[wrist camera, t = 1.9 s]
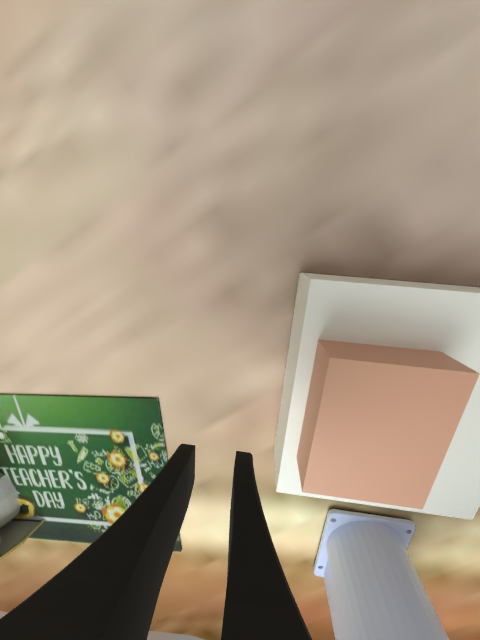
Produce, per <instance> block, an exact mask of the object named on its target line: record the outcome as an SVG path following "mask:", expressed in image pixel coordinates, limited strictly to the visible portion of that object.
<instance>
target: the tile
mask: <svg viewBox="0 0 480 640" xmlns="http://www.w3.org/2000/svg"><path fill="white" fill-rule="evenodd" d="M479 374H480V373H478V372H476V371H474V370H473V369H471V368H469V367H467V366H466V365H464V364H462V363H460V362H459V361H457V360H455V359H453V358H452V357H450V356H448V355H446V354H444V353H443V352H439V351H429V350H419V349H409V348H399V347H389V346H379V345H370V344H360V343H350V342H340V341H330V340H320V339H318V343H317V348H316V354H315V359H314V365H313V370H312V376H311V381H310V386H309V392H308V397H307V403H306V408H305V413H304V419H303V424H302V430H301V435H300V440H299V446H298V451H297V457H296V458H297V464H298V470H299V476H300V482H301V488H302V492H304V493H311V494H318V495H325V496H332V497H339V498H346V499H353V500H360V501H367V502H374V503H381V504H388V505H395V506H402V507H409V508H416V509H423V507H424V505H425V503H426V500H427V498H428V496H429V493H430V491H431V488H432V486H433V484H434V481H435V479H436V477H437V474H438V472H439V469H440V467H441V465H442V462H443V460H444V458H445V455H446V453H447V450H448V448H449V446H450V443H451V441H452V439H453V436H454V434H455V431H456V429H457V427H458V424H459V422H460V420H461V417H462V415H463V412H464V410H465V408H466V405H467V403H468V401H469V398H470V396H471V393H472V391H473V389H474V386H475V384H476V382H477V379H478V377H479Z"/></svg>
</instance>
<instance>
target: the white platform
mask: <svg viewBox="0 0 480 640" xmlns="http://www.w3.org/2000/svg"><path fill="white" fill-rule="evenodd" d="M318 339H320V340H330V341H340V342H350V343H360V344H370V345H379V346H389V347H399V348H409V349H419V350H429V351H439V352H443V353H444V354H446V355H448V356H450V357H452V358H453V359H455V360H457V361H459V362H460V363H462V364H464V365H466V366H467V367H469V368H471V369H473V370H474V371H476V372H478V373H480V287H470V286H458V285H446V284H434V283H422V282H410V281H398V280H386V279H374V278H361V277H349V276H337V275H325V274H313V273H301V272H300V274H299V280H298V287H297V294H296V301H295V308H294V314H293V321H292V328H291V335H290V342H289V349H288V355H287V362H286V369H285V376H284V383H283V389H282V396H281V403H280V410H279V417H278V424H277V430H276V437H275V444H274V461H275V478H276V492H281V493H288V494H295V495H302V496H309V497H316V498H323V499H330V500H337V501H343V502H350V503H357V504H364V505H371V506H378V507H385V508H392V509H399V510H406V511H413V512H420V513H427V514H434V515H441V516H448V517H454V518H461V519H468V520H473V518H474V516H475V514H476V512H477V510H478V508H479V506H480V374H479V377H478V379H477V382H476V384H475V386H474V389H473V391H472V393H471V396H470V398H469V401H468V403H467V405H466V408H465V410H464V412H463V415H462V417H461V420H460V422H459V424H458V427H457V429H456V431H455V434H454V436H453V439H452V441H451V443H450V446H449V448H448V450H447V453H446V455H445V458H444V460H443V462H442V465H441V467H440V469H439V472H438V474H437V477H436V479H435V481H434V484H433V486H432V488H431V491H430V493H429V496H428V498H427V500H426V503H425V505H424V507H423V509H416V508H409V507H402V506H395V505H388V504H381V503H374V502H367V501H360V500H353V499H346V498H339V497H332V496H325V495H318V494H311V493H304V492H302V488H301V482H300V476H299V470H298V464H297V458H296V457H297V451H298V446H299V440H300V435H301V430H302V424H303V419H304V413H305V408H306V403H307V397H308V392H309V386H310V381H311V376H312V370H313V365H314V359H315V354H316V348H317V343H318Z"/></svg>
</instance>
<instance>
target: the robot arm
mask: <svg viewBox="0 0 480 640" xmlns="http://www.w3.org/2000/svg"><path fill="white" fill-rule="evenodd" d="M194 478H195V445H187V444H181V445H180V446H179V447H178V448H177V450H176V451H175V453H174V454H173V455H172V457H171V458H170V459H169V461H168V462H167V463H166V465H165V466H164V467H163V468H162V470H161V471H160V472H159V473H158V475H157V476H156V477H155V478H154V479H153V481H152V482H151V483H150V484H149V485H148V487H147V488H146V489H145V490H144V491H143V492H142V493H141V494H140V496H139V497H138V498H137V499H136V500H135V501H134V502H133V503H132V504H131V505H130V506H129V508H128V509H127V510H126V511H125V512H124V513H123V514H122V515H121V516H120V517H119V518H118V519H117V520H116V521H115V522H114V523H113V524H112V525H111V526H110V527H109V528H108V529H107V530H106V531H105V532H104V533H103V534H102V535H101V536H100V537H99V538H98V539H96V540H95V541H94V542H93V543H92V544H91V545H90V546H89V547H88V548H87V549H85V550H84V551H83V552H82V553H81V554H80V555H79V556H78V557H77V558H75V559H74V560H73V561H72V562H71V563H70V564H69V565H67V566H66V567H65V568H64V569H63V570H62V571H60V572H59V573H58V574H57V575H55V576H54V577H53V578H52V579H51V580H49V581H48V582H47V583H46V584H44V585H43V586H42V587H41V588H40V589H38V590H37V591H36V592H35V593H33V594H32V595H31V596H30V597H29V598H27V599H26V600H25V601H23V602H22V603H21V604H20V605H18V606H17V607H16V608H14V609H13V610H12V611H10V612H9V613H8V614H6V615H5V616H4V617H2V618H1V619H0V640H147V636H148V632H149V628H150V625H151V621H152V617H153V614H154V610H155V606H156V603H157V599H158V595H159V592H160V588H161V585H162V582H163V579H164V576H165V573H166V570H167V567H168V564H169V561H170V558H171V555H172V552H173V549H174V546H175V543H176V541H177V538H178V535H179V532H180V529H181V526H182V523H183V520H184V517H185V514H186V511H187V508H188V504H189V500H190V496H191V492H192V488H193V484H194ZM415 529H416V526H415V524H414V523H413V521H411V520H406V519H399V518H392V517H385V516H378V515H372V514H365V513H358V512H351V511H344V510H337V509H330V510H329V511H328V514H327V518H326V522H325V526H324V529H323V533H322V537H321V541H320V545H319V549H318V553H317V557H316V561H315V564H314V574H315V575H317V576H321V577H324V581H325V586H326V592H327V597H328V602H329V608H330V613H331V618H332V623H333V629H334V634H335V639H336V640H449V638H448V636H447V634H446V632H445V630H444V628H443V626H442V624H441V622H440V620H439V618H438V615H437V613H436V611H435V609H434V607H433V605H432V603H431V601H430V599H429V597H428V595H427V593H426V590H425V588H424V586H423V584H422V582H421V580H420V578H419V576H418V574H417V572H416V570H415V568H414V566H413V563H412V561H411V559H410V557H409V555H408V553H407V551H406V550H407V547H408V545H409V543H410V540H411V538H412V536H413V533H414V531H415ZM221 640H312V638H311V636H310V634H309V632H308V629H307V627H306V625H305V622H304V620H303V618H302V616H301V613H300V611H299V609H298V606H297V604H296V602H295V599H294V597H293V595H292V592H291V590H290V588H289V585H288V582H287V580H286V577H285V575H284V572H283V570H282V567H281V564H280V562H279V559H278V556H277V553H276V551H275V548H274V545H273V542H272V539H271V536H270V533H269V530H268V526H267V523H266V520H265V516H264V513H263V509H262V506H261V502H260V498H259V494H258V490H257V485H256V480H255V475H254V468H253V458H252V454H251V453H247V452H240V451H236V458H235V465H234V476H233V487H232V499H231V510H230V530H229V553H228V576H227V589H226V599H225V608H224V618H223V627H222V636H221Z"/></svg>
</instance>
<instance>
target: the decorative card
mask: <svg viewBox="0 0 480 640" xmlns="http://www.w3.org/2000/svg"><path fill="white" fill-rule="evenodd" d="M167 462H168V456H167V450H166V443H165V437H164V430H163V424H162V417H161V411H160V404H159V398H144V397H105V396H66V395H27V394H0V560H1V559H2V558H3V557H5V556H6V555H7V554H9V553H10V552H12V551H13V550H14V549H16V548H17V547H18V546H20V545H21V544H23V543H24V541H25V540H26V539H27V538H35V539H46V540H58V541H69V542H80V543H91V544H92V543H93V542H94V541H95V540H96V539H98V538H99V537H100V536H101V535H102V534H103V533H104V532H105V531H106V530H107V529H108V528H109V527H110V526H111V525H112V524H113V523H114V522H115V521H116V520H117V519H118V518H119V517H120V516H121V515H122V514H123V513H124V512H125V511H126V510H127V509H128V508H129V506H130V505H131V504H132V503H133V502H134V501H135V500H136V499H137V498H138V497H139V496H140V494H141V493H142V492H143V491H144V490H145V489H146V488H147V487H148V485H149V484H150V483H151V482H152V481H153V479H154V478H155V477H156V476H157V475H158V473H159V472H160V471H161V470H162V468H163V467H164V466H165V465H166V463H167ZM181 550H182V547H181V541H180V534H179V535H178V538H177V541H176V543H175V546H174V549H173V551H179V552H181Z"/></svg>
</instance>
